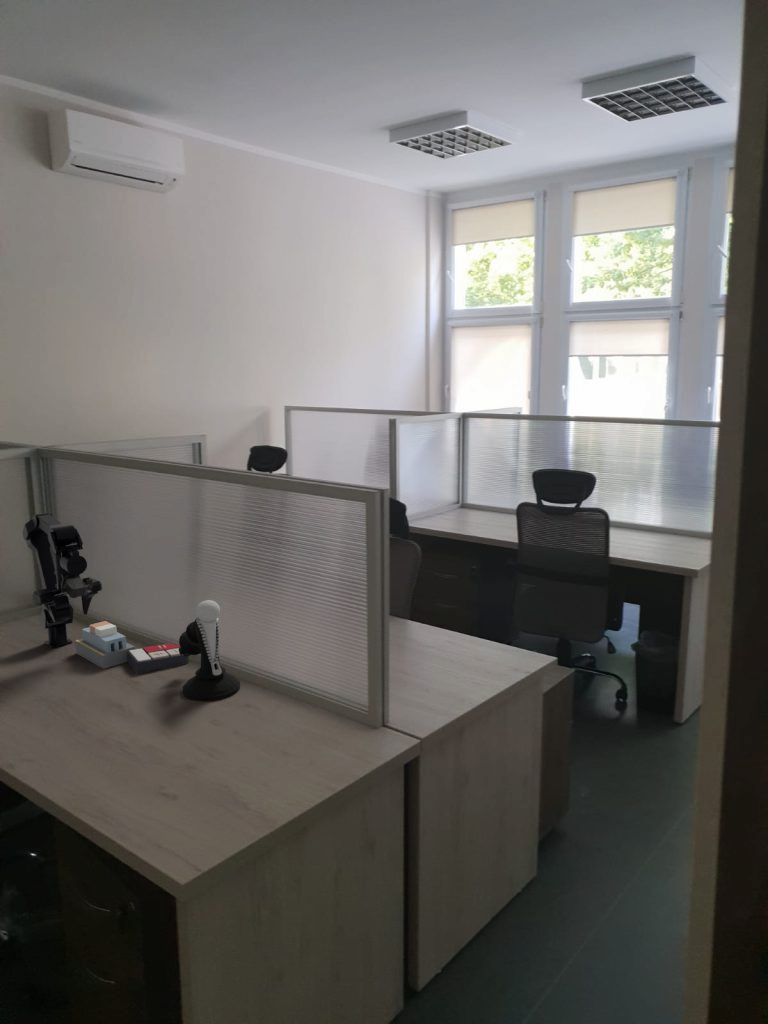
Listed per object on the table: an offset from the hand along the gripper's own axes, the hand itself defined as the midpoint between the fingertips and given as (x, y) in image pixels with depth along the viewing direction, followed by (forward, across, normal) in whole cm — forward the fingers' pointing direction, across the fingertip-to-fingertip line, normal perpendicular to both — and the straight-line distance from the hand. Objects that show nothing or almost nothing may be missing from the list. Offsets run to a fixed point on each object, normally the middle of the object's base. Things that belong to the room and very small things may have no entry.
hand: (70, 618), depth 234 cm
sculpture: (+11, +14, -48) cm, 51 cm away
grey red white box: (+12, +14, -24) cm, 30 cm away
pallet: (+8, +6, -8) cm, 13 cm away
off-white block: (+4, +6, -10) cm, 12 cm away
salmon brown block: (+4, +6, -6) cm, 10 cm away
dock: (+12, +6, -8) cm, 15 cm away
